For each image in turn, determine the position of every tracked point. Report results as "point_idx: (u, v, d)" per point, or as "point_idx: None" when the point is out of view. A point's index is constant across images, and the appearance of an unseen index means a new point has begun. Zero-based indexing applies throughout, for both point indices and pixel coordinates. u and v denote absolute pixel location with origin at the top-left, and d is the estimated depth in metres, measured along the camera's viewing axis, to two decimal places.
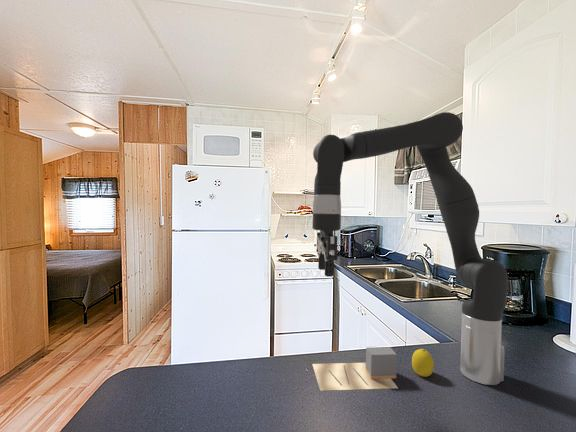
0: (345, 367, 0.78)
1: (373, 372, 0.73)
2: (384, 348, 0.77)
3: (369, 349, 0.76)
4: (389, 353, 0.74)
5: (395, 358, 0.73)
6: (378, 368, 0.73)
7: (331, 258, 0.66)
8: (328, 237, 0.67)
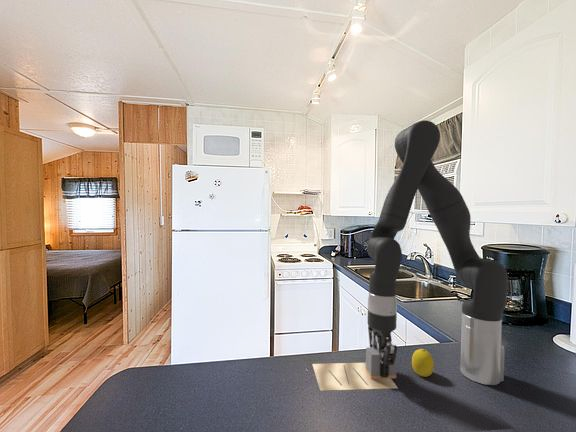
0: (345, 367, 0.78)
1: (373, 372, 0.73)
2: None
3: (369, 349, 0.76)
4: None
5: (395, 358, 0.73)
6: (378, 368, 0.73)
7: (388, 363, 0.70)
8: (388, 348, 0.69)
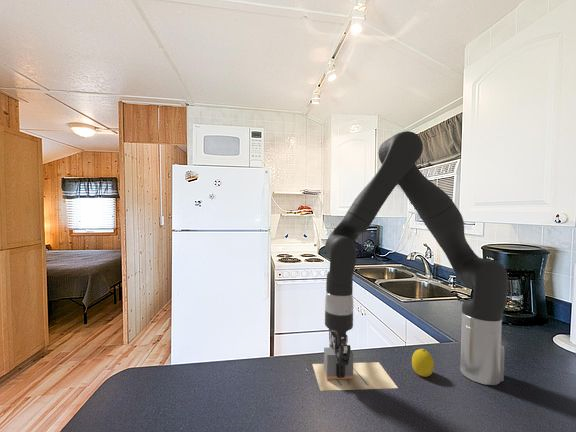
0: None
1: (329, 372, 0.72)
2: None
3: (326, 349, 0.75)
4: None
5: (352, 358, 0.72)
6: (334, 368, 0.72)
7: (342, 363, 0.69)
8: (341, 348, 0.68)
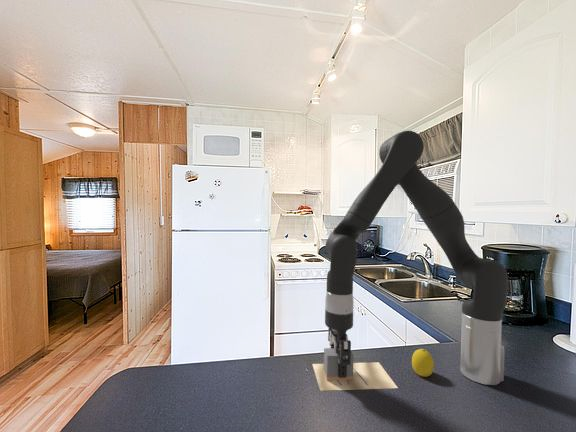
0: None
1: (329, 373, 0.72)
2: None
3: (326, 350, 0.75)
4: None
5: (352, 359, 0.72)
6: (334, 369, 0.72)
7: (344, 363, 0.67)
8: (342, 343, 0.67)
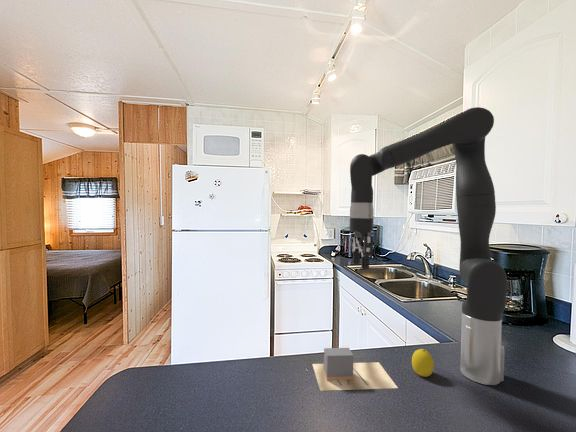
0: None
1: (329, 373, 0.72)
2: (342, 348, 0.76)
3: (326, 350, 0.75)
4: (346, 354, 0.73)
5: (352, 359, 0.72)
6: (334, 369, 0.72)
7: (368, 254, 0.83)
8: (365, 237, 0.83)
